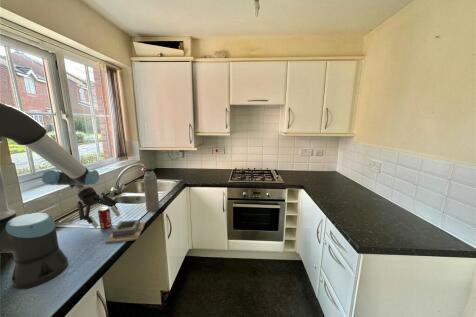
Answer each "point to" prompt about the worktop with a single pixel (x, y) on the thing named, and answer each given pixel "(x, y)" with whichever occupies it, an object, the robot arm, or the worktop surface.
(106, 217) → the soda can
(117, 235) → the square socket dock
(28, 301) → the worktop surface
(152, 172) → the thermos bottle
